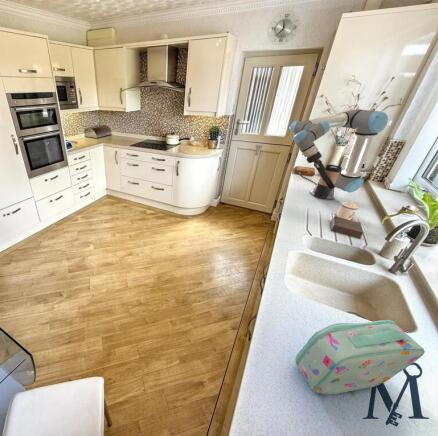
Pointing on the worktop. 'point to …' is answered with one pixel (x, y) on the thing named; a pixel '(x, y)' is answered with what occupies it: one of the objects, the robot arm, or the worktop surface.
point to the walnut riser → (346, 227)
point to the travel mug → (322, 187)
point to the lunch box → (356, 356)
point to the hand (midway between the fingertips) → (332, 185)
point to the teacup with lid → (347, 210)
